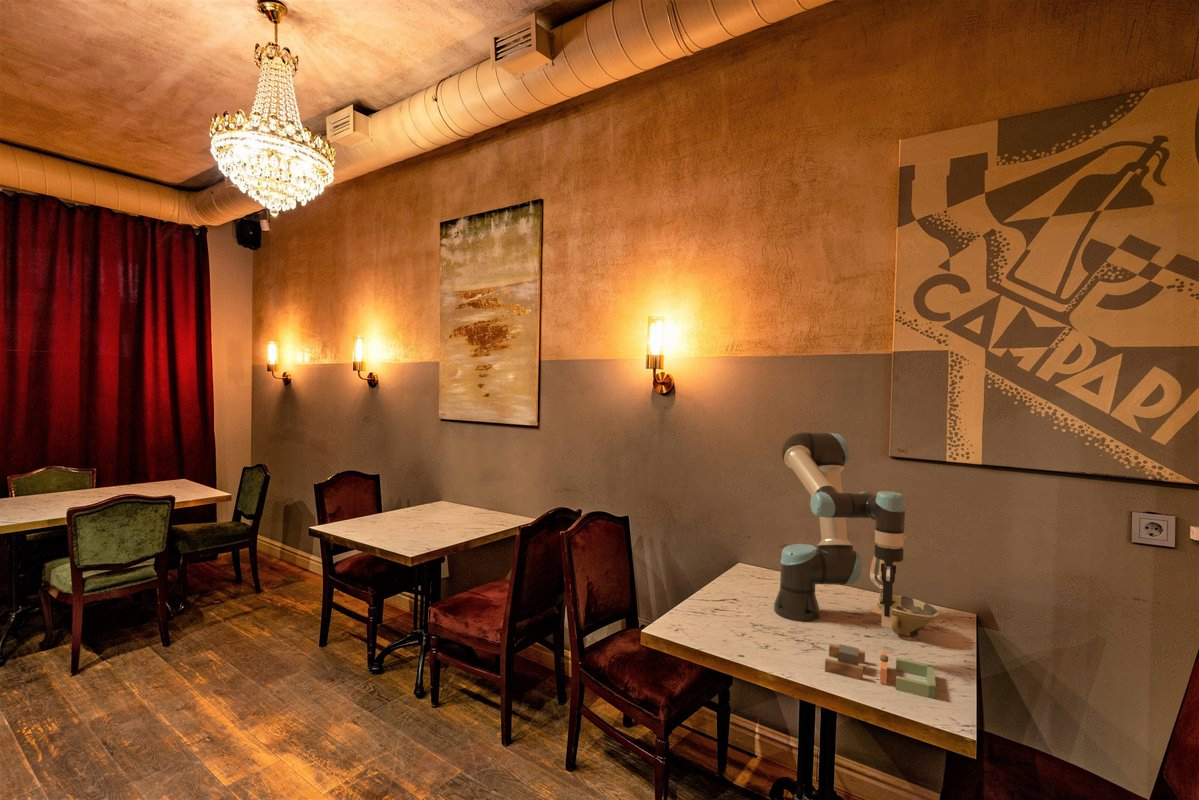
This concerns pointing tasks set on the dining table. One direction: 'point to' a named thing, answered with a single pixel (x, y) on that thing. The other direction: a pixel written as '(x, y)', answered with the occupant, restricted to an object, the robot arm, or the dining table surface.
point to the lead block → (848, 655)
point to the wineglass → (876, 580)
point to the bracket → (914, 685)
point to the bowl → (910, 615)
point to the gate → (883, 667)
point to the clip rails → (844, 664)
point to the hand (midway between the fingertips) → (886, 626)
